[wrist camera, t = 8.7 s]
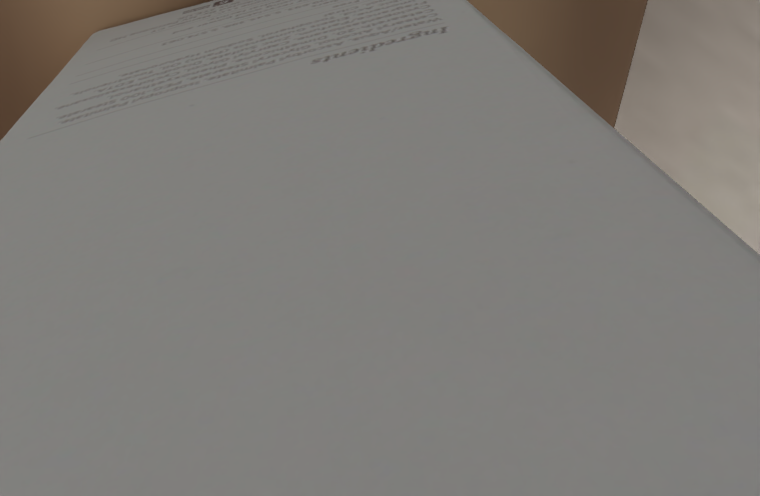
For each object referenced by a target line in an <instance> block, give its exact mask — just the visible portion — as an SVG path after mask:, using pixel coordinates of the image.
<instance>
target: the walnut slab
mask: <svg viewBox="0 0 760 496" xmlns="http://www.w3.org/2000/svg"><path fill="white" fill-rule="evenodd" d="M210 1H213V0H0V141H1V140H2V138H3V137H4V136H5V135H6V134H7V133H8V131H9V130H10V129H11V128H12V127H13V126H14V124H15V123H16V122H17V121H18V120H19V119H20V117H21V116H22V115H23V114H24V113H25V112H26V110H27V109H28V108H29V107H30V106H31V105H32V104H33V102H34V101H35V100H36V99H37V98H38V97H39V96H40V94H41V93H42V92H43V91H44V90H45V89H46V88H47V87H48V85H49V84H50V83H51V82H52V81H53V80H54V79H55V77H56V76H57V75H58V74H59V73H60V72H61V70H62V69H63V68H64V67H65V66H66V64H67V63H68V62H69V61H70V60H71V58H72V57H73V56H74V55H75V54H76V53H77V52H78V51H79V49H80V48H81V47H82V45H83V44H84V43H85V42H86V41H87V40H88V39H89V37H90V36H91V35H92V34H94V33H96V32H98V31H100V30H104V29H108V28H112V27H115V26H119V25H123V24H127V23H131V22H134V21H138V20H141V19H145V18H149V17H152V16H156V15H160V14H163V13H167V12H171V11H175V10H179V9H183V8H187V7H191V6H195V5H198V4H202V3H206V2H210ZM467 1H468V2H469V3H470V4H472V5H473V6H474V7H475V8H476V9H477V10H478V11H480V12H481V13H482V14H483V15H484V16H485V17H487V18H488V19H489V20H490V21H491V22H492V23H493V24H494V25H496V26H497V27H498V28H499V29H500V30H501V31H502V32H504V33H505V34H506V35H507V36H509V37H510V38H511V39H512V40H513V41H514V42H516V43H517V44H518V45H519V46H520V47H521V48H523V49H524V50H525V51H526V52H527V53H528V54H529V55H530V56H531V57H533V58H534V59H535V60H536V61H537V62H538V63H539V64H541V65H542V66H543V67H544V68H545V69H546V70H547V71H549V72H550V73H551V74H552V75H553V76H554V77H555V78H557V79H558V80H559V81H560V82H561V83H562V84H564V85H565V86H566V87H567V88H568V89H569V90H570V91H572V92H573V93H574V94H575V95H576V96H577V97H578V98H580V99H581V100H582V101H583V102H584V103H585V104H586V105H588V106H589V107H590V108H591V109H592V110H593V111H594V112H596V113H597V114H598V115H599V116H600V117H601V118H602V119H604V120H605V121H606V122H607V123H608V124H609V125H611V126H612V127H613V128H614V126H615V122H616V119H617V115H618V111H619V107H620V103H621V100H622V96H623V92H624V88H625V85H626V81H627V77H628V73H629V69H630V66H631V62H632V58H633V54H634V50H635V47H636V43H637V39H638V35H639V31H640V28H641V24H642V20H643V16H644V13H645V9H646V5H647V1H648V0H467Z"/></svg>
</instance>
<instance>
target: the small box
mask: <svg viewBox="0 0 760 496" xmlns="http://www.w3.org/2000/svg"><path fill="white" fill-rule="evenodd" d="M0 496H760V255H759V254H758V253H757V252H756V251H754V250H753V249H752V248H751V247H750V246H749V245H747V244H746V243H745V242H744V241H743V240H742V239H741V238H739V237H738V236H737V235H736V234H735V233H734V232H733V231H731V230H730V229H729V228H728V227H727V226H726V225H724V224H723V223H722V222H721V221H720V220H719V219H718V218H716V217H715V216H714V215H713V214H712V213H711V212H709V211H708V210H707V209H706V208H705V207H704V206H703V205H701V204H700V203H699V202H698V201H697V200H696V199H695V198H693V197H692V196H691V195H690V194H689V193H688V192H686V191H685V190H684V189H683V188H682V187H681V186H680V185H678V184H677V183H676V182H675V181H674V180H673V179H672V178H670V177H669V176H668V175H667V174H666V173H665V172H663V171H662V170H661V169H660V168H659V167H658V166H657V165H655V164H654V163H653V162H652V161H651V160H650V159H648V158H647V157H646V156H645V155H644V154H643V153H642V152H640V151H639V150H638V149H637V148H636V147H635V146H634V145H632V144H631V143H630V142H629V141H628V140H627V139H625V138H624V137H623V136H622V135H621V134H620V133H619V132H617V131H616V130H615V129H614V128H613V127H612V126H611V125H609V124H608V123H607V122H606V121H605V120H604V119H602V118H601V117H600V116H599V115H598V114H597V113H596V112H594V111H593V110H592V109H591V108H590V107H589V106H588V105H586V104H585V103H584V102H583V101H582V100H581V99H580V98H578V97H577V96H576V95H575V94H574V93H573V92H572V91H570V90H569V89H568V88H567V87H566V86H565V85H564V84H562V83H561V82H560V81H559V80H558V79H557V78H555V77H554V76H553V75H552V74H551V73H550V72H549V71H547V70H546V69H545V68H544V67H543V66H542V65H541V64H539V63H538V62H537V61H536V60H535V59H534V58H533V57H531V56H530V55H529V54H528V53H527V52H526V51H525V50H524V49H523V48H521V47H520V46H519V45H518V44H517V43H516V42H514V41H513V40H512V39H511V38H510V37H509V36H507V35H506V34H505V33H504V32H502V31H501V30H500V29H499V28H498V27H497V26H496V25H494V24H493V23H492V22H491V21H490V20H489V19H488V18H487V17H485V16H484V15H483V14H482V13H481V12H480V11H478V10H477V9H476V8H475V7H474V6H473V5H472V4H470V3H469V2H468V1H467V0H213V1H210V2H206V3H202V4H198V5H195V6H191V7H187V8H183V9H179V10H175V11H171V12H167V13H163V14H160V15H156V16H152V17H149V18H145V19H141V20H138V21H134V22H131V23H127V24H123V25H119V26H115V27H112V28H108V29H104V30H100V31H98V32H96V33H94V34H92V35H91V36H90V37H89V39H88V40H87V41H86V42H85V43H84V44H83V45H82V47H81V48H80V49H79V51H78V52H77V53H76V54H75V55H74V56H73V57H72V58H71V60H70V61H69V62H68V63H67V64H66V66H65V67H64V68H63V69H62V70H61V72H60V73H59V74H58V75H57V76H56V77H55V79H54V80H53V81H52V82H51V83H50V84H49V85H48V87H47V88H46V89H45V90H44V91H43V92H42V93H41V94H40V96H39V97H38V98H37V99H36V100H35V101H34V102H33V104H32V105H31V106H30V107H29V108H28V109H27V110H26V112H25V113H24V114H23V115H22V116H21V117H20V119H19V120H18V121H17V122H16V123H15V124H14V126H13V127H12V128H11V129H10V130H9V131H8V133H7V134H6V135H5V136H4V137H3V138H2V140H1V141H0Z"/></svg>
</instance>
